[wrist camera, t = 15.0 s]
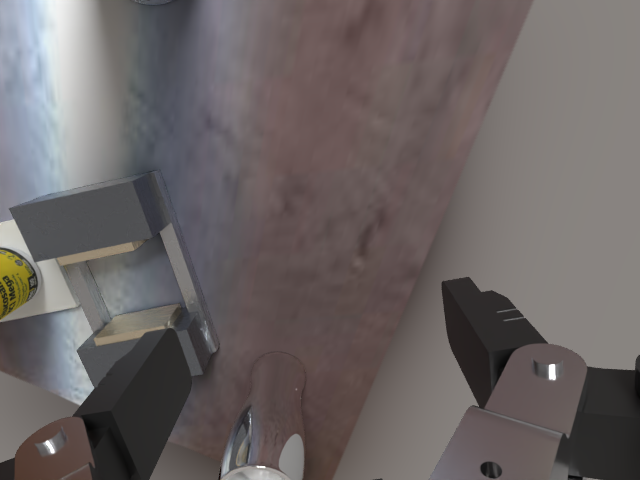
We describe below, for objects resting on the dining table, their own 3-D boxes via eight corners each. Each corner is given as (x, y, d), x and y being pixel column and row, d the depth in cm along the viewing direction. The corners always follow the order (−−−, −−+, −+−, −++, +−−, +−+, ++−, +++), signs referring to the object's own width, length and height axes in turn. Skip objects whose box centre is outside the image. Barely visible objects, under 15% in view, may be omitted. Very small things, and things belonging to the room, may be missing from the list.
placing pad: (-54, 234, 41) (-59, 236, 41) (39, 213, 40) (35, 215, 40) (-7, 321, 44) (-12, 324, 44) (80, 304, 44) (77, 307, 43)
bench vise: (42, 195, 40) (4, 209, 35) (159, 169, 39) (136, 180, 34) (117, 362, 46) (92, 393, 41) (219, 344, 45) (207, 373, 40)
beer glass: (274, 410, 48) (252, 544, 34) (234, 369, 46) (192, 492, 32) (322, 379, 46) (321, 506, 32) (282, 336, 44) (262, 449, 30)
